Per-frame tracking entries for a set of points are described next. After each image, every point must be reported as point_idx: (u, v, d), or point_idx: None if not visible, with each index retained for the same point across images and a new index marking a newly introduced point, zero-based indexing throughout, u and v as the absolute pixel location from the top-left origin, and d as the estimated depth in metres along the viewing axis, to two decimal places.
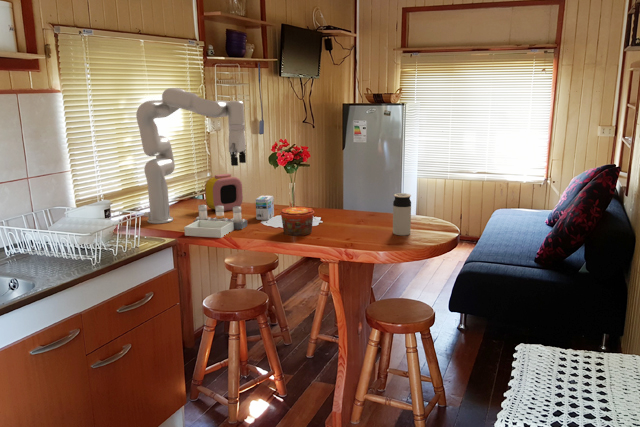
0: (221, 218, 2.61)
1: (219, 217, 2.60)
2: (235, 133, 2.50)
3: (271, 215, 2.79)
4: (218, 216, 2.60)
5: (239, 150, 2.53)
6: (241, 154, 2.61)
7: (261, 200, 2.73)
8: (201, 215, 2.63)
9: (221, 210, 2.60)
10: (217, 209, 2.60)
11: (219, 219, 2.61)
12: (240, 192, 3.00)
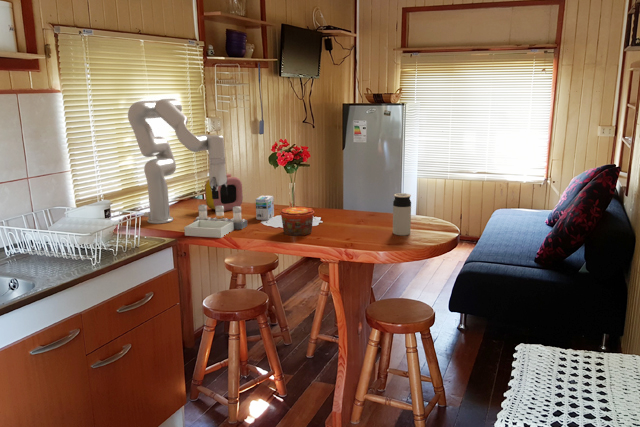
0: (221, 218, 2.61)
1: (219, 217, 2.60)
2: (215, 167, 2.52)
3: (271, 215, 2.79)
4: (218, 216, 2.60)
5: (220, 184, 2.55)
6: (222, 187, 2.63)
7: (261, 200, 2.73)
8: (201, 215, 2.63)
9: (221, 210, 2.60)
10: (217, 209, 2.60)
11: (219, 219, 2.61)
12: (240, 192, 3.00)
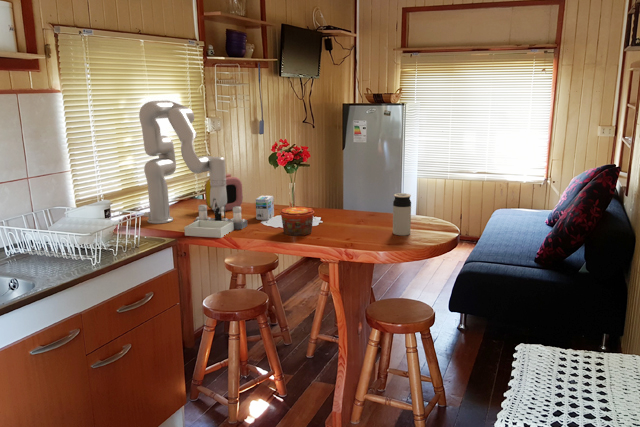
0: (221, 218, 2.61)
1: None
2: (216, 189, 2.55)
3: (271, 215, 2.79)
4: None
5: (220, 205, 2.57)
6: None
7: (261, 200, 2.73)
8: (201, 215, 2.63)
9: (221, 210, 2.60)
10: None
11: None
12: (240, 192, 3.00)
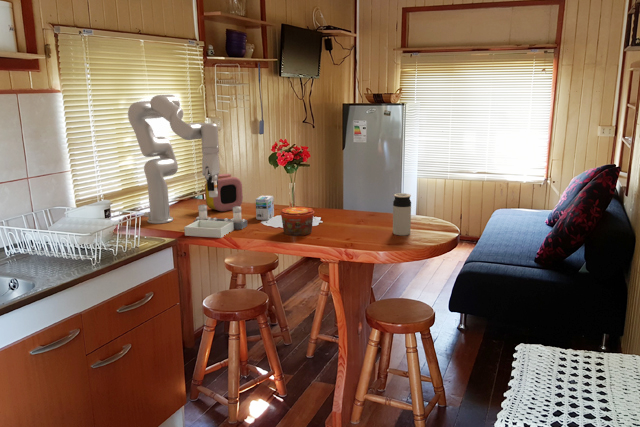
0: (214, 187, 2.51)
1: None
2: (209, 156, 2.45)
3: (271, 215, 2.79)
4: None
5: (213, 173, 2.48)
6: None
7: (261, 200, 2.73)
8: (201, 215, 2.63)
9: (214, 179, 2.50)
10: None
11: None
12: (240, 192, 3.00)
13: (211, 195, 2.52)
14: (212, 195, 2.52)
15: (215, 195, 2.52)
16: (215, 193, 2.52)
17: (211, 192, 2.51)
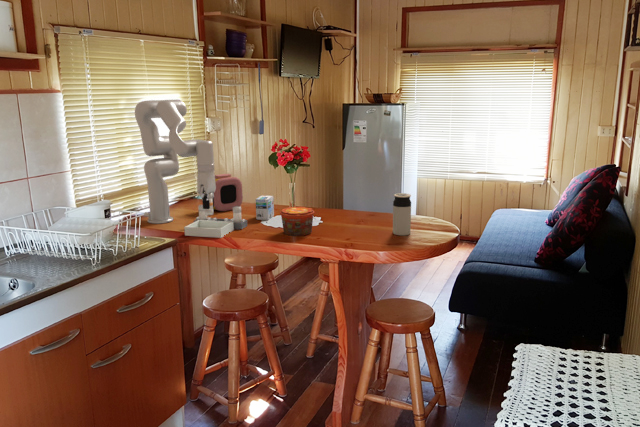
0: None
1: None
2: (204, 174, 2.41)
3: (271, 215, 2.79)
4: None
5: (208, 191, 2.44)
6: None
7: (261, 200, 2.73)
8: (201, 215, 2.63)
9: (209, 197, 2.47)
10: None
11: None
12: (240, 192, 3.00)
13: (207, 213, 2.48)
14: (207, 213, 2.48)
15: (211, 213, 2.48)
16: (211, 211, 2.48)
17: (206, 210, 2.48)
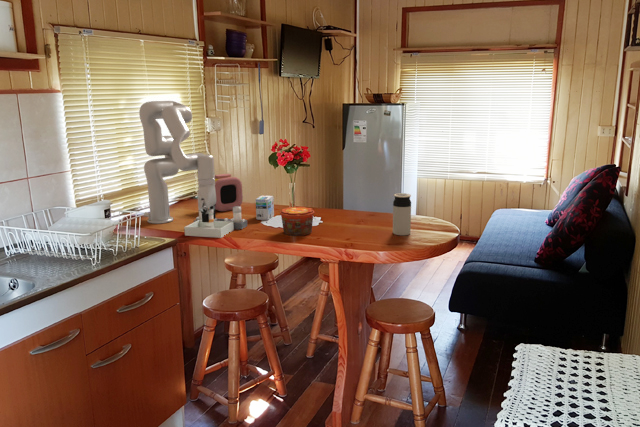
0: (210, 222, 2.49)
1: (209, 220, 2.49)
2: (204, 188, 2.43)
3: (271, 215, 2.79)
4: None
5: (209, 205, 2.46)
6: None
7: (261, 200, 2.73)
8: (201, 215, 2.63)
9: (210, 213, 2.49)
10: None
11: (208, 223, 2.49)
12: (240, 192, 3.00)
13: None
14: None
15: None
16: (211, 227, 2.50)
17: (207, 226, 2.50)
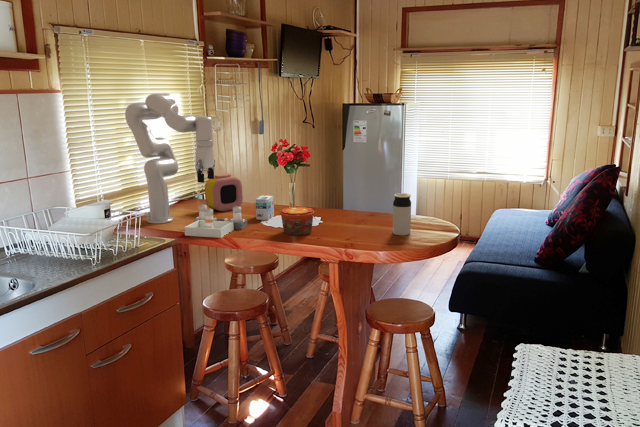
0: (210, 222, 2.49)
1: (208, 220, 2.49)
2: (202, 149, 2.44)
3: (271, 215, 2.79)
4: (207, 220, 2.49)
5: (206, 167, 2.47)
6: (209, 170, 2.56)
7: (261, 200, 2.73)
8: (201, 215, 2.63)
9: (210, 214, 2.48)
10: (205, 213, 2.48)
11: (208, 223, 2.49)
12: (240, 192, 3.00)
13: None
14: None
15: None
16: (211, 227, 2.50)
17: (207, 226, 2.50)
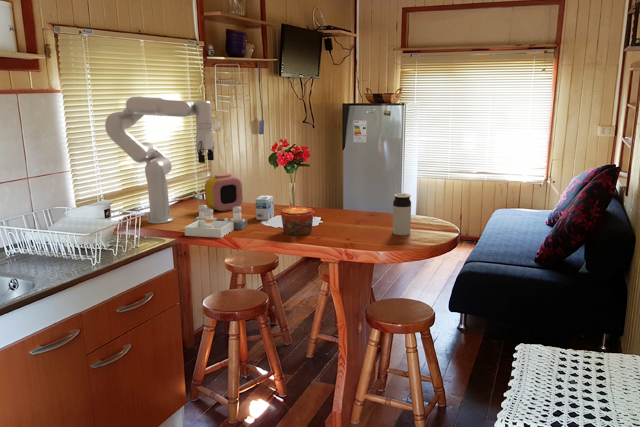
0: (210, 222, 2.49)
1: (208, 220, 2.49)
2: (202, 131, 2.60)
3: (271, 215, 2.79)
4: (207, 220, 2.49)
5: (206, 148, 2.63)
6: (209, 152, 2.71)
7: (261, 200, 2.73)
8: (201, 215, 2.63)
9: (210, 214, 2.48)
10: (205, 213, 2.48)
11: (208, 223, 2.49)
12: (240, 192, 3.00)
13: None
14: None
15: None
16: (211, 227, 2.50)
17: (207, 226, 2.50)
